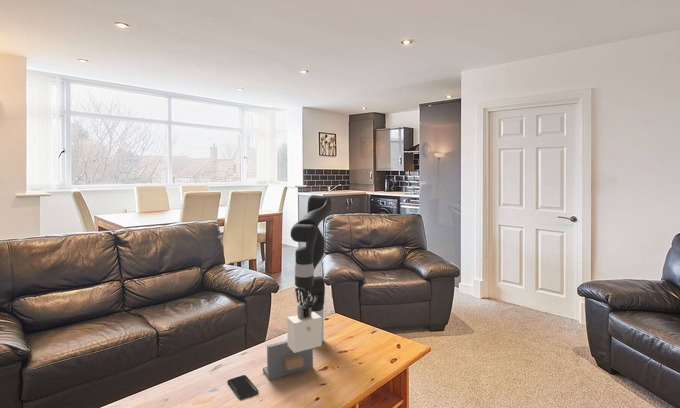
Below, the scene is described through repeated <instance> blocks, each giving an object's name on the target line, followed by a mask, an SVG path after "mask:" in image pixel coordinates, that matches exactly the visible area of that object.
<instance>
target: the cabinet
mask: <svg viewBox="0 0 680 408" xmlns="http://www.w3.org/2000/svg"><path fill="white" fill-rule="evenodd" d="M305 305H306V304H305ZM286 321H287V322H286V323H287V324H286V325H287V329H286V331H287V335H286V336H287V339H286V341H288V347H289V348H290V349H291V350H292V351H293V352H294V353H296V352H300V351H304V350H308V349H312V348H313V349H315V348H318V347H322V346H323V345H322V344H323V343H322V317H321V316H319V315H318V314H316V313H315V312H311V308H309V317H306V318H304V317H303V304H302V305H299V304H298V305H297V314H296V315H291V316H287V318H286Z"/></svg>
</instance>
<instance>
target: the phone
mask: <svg viewBox="0 0 680 408" xmlns="http://www.w3.org/2000/svg"><path fill="white" fill-rule="evenodd" d="M227 385H228V386H229V387H230V388H231V390H232V392H233V393H234V394H235V396H236V397H237V398H238V399H239V400H245V399H248V398H250V397H252V396H255V395H258V394H259V390H258V388H257V387H256V386H255V384H254V383H253V382H252V381H251V380H250V378H249V377H248V376H247V375H245V374H241V375H239V376H236V377H233V378H230V379H227Z"/></svg>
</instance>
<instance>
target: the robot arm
mask: <svg viewBox="0 0 680 408" xmlns="http://www.w3.org/2000/svg"><path fill="white" fill-rule="evenodd" d="M332 208H333V207H332V199H331V197H329V196H325V195H317V194H310V195H309V197H308V200H307V213H306V215H304V217H303V218H302V219H300V220H299V221H297V222H296V223H294V224H293V225H292V227H291V228H290V238H291V240H292V241H294V242H297V243H305V246H303V247H302V246H301V247H298V248H297V249H295V265H294V285H295V287H296V288H295V289H294V290H295V291H294V292H295V296H296V302H297V304H298V305H302V304H303V317H304V318H306V317H309V308H311V312H315V313H316V314H318V315H319V316H321V317H322V344H323V343H324V337H325V336H324V335H325V334H324V329H325V327H324V321H325V320H324V318H325V316H324V310H325V309H324V305H325V294H326V293H325V292H326V284H325V279H324V278H323V276H320V275H319V276H318V275H317V276H314V274H315V269H316V268H317V266H318V264H320V262H321V260H322V259H323V257H324V254H325V244H326V240H325V237H324V235H323V233H322V231H321V230H320V228H319V225H320V224H321V222H322V221H323V220H325V219H326V218H327V217H328V216H329V215H330V213H331V211H332ZM305 304H306V305H305Z"/></svg>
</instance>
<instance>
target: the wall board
mask: <svg viewBox="0 0 680 408" xmlns="http://www.w3.org/2000/svg"><path fill="white" fill-rule="evenodd" d="M266 349H267V350H266V358H267V359H266V360H267V361H266V366H265V367H262V372H263V373H264V375H265V376H266V378H267V379H268V380H269V381H271V380H273V379H274V380H275V379H278V378H281V377H285V376H288V375H292V374H295V373H299V372H304V371H307V370H309V369H313V368H314V357H313V356H314V351H313V350H314V348H312V349H308V350H304V351H300V352H296V353H294V352H293V351H292V350H291V349H290V348H289V347H288V341H287V340H283V341H280V342H274V343H271V344H267V345H266Z"/></svg>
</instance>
